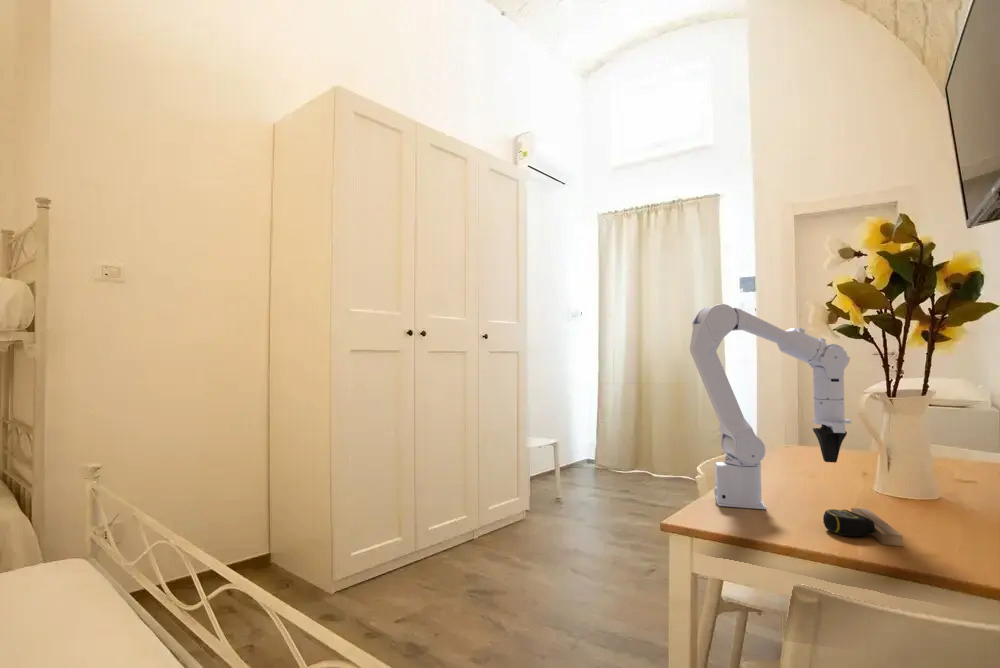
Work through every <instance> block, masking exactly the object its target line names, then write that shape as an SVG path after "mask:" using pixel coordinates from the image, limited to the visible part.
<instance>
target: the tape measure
mask: <svg viewBox="0 0 1000 668" xmlns="http://www.w3.org/2000/svg"><path fill="white" fill-rule="evenodd" d="M822 517H823V518H822V519H823V524H824V527H825V528H826V529H827V530H828V531H831V532H833V533H834V534H837V535H840V536H841V537H842V536H850V537H861V536H865V535H871V533H873V532H874V530H875V525H874V522H873V521H871V520H870V519H868V518H866V517H864V516H861V515H859V514H856V513H853V512H851V510H847V509H836V508H835V509H834V508H833V509H832V508H831V509H828V510H825V511H824V514H823V516H822Z"/></svg>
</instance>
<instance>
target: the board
mask: <svg viewBox="0 0 1000 668" xmlns="http://www.w3.org/2000/svg"><path fill="white" fill-rule="evenodd" d="M850 512H853V513H856V514H859V515H861V516H864V517H866V518H868V519H870V520H871V521H873V522H874V525H875V530H874V532H873V533H871V534H870V535H872V536H873V537H874V538H875V539H876V540H877V541H878V542H879V543H880V544H881V545H885V546H894V547H895V546H899V547H904V536H903V534H902V533H900V532H899V531H898V530H896V529H895V528H894V527H893V526H891V525H889V524H888V523H887V522H886V521H885V520H883V519H882V517H879V516H878V515H877V514H876V513H874V512H873V511H871V510H870V509H869V508H856V507H851V509H850Z"/></svg>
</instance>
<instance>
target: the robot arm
mask: <svg viewBox="0 0 1000 668" xmlns="http://www.w3.org/2000/svg"><path fill="white" fill-rule="evenodd" d="M691 324H692V332H691V339H690V345H689V352H690V355H691V357H692V359H693V362H694V365H695V366H696V369H697V372H698V373H699V377H700V378H701V381H702V384H703V385H704V388H705V390H706V393H707V395H708V398H709V399H710V402H711V405H712V407H713V409H714V412H715V415H716V417H717V419H718V421H719V430H718V431H719V432H720V434H721V435H720V436H721V439H720V440H721V441H720V442H721V444H720V445H721V448H722V450H723V452H724V453H725V454H726V455H725V458H724V461H716V462H715V463H714V489H713V492H714V498H715V501H716V503H717V505H718V506H719V507H730V508H741V509H754V510H767V505H766V504H764V501H763V500H762V498H763V497H762V462H761V461H762V460H764V457H765V455H766V446H765V444H764V442H763V440H762V439H760V438H759V437H758V436H757V434H755V431H754V430H753V427H752V426H751V425H750V423H749V422H748V421H747V420H746V418H745V417H744V415H743V412H742V410H741V408H740V404H739V402H738V399H737V397H736V396H735V393H734V390H733V388H732V385H731V383H730V381H729V379H728V378H729V377H727V374H726V372H725V369H724V366H723V364H722V362H721V360H720V357H719V356H718V355H719V354H718V352H717V351H718V348H719V347H720V345H721V342H723V340H724V339H725V337H726V336H727V335H728V334H729V333H731V332H733V331H743V332H745V333H746V332H747V333H749V334H751V335H755V336H757V337H759V338H762V339H764V340H767V341H770V342H773V343H775V344H776V345H777V347H778V349H779V351H780V352H782V353H784V354H786V355H788V356H790V357H792V358H795V359H798V360H800V361H802V362H804V363H806V364H808V366H809V367H810V368H812V376H813V377H812V379H813V380H812V386H813V387H812V388H813V418H812V422H813V424H815V425H820V427H813V428H812V432H814V434H815V436H816V438H817V439H816V440H818V443H819V447H820V452H821V455H822V459H823V462H825V463H835V464H836V463H837V461H838V459H839V453H840V450H841V446H842V444H843V441H844V440H845V438H846V436H847V434H848V433H847V431H846V424H852V420H851V419H849V418H848V419H847V418H845V384H844V383H845V380H844V379H845V377H844V376H845V369H846V367H848V366H849V362H850V360H851V359H850V358H851V357H850V356H848V354H847V350H845V349H844V347H843V346H841V345H839V344H835V343H834V344H833V343H830V344H829V343H828V344H827V342H826V339H825V338H823V337H819V338H817V337H815V336H813V335H811V334H808V333H805V332H806V329H804V328H802V327H797V328H794V327H793V328H789V329H786V330H785V329H782V328H780V327H779V326H777V325H774V324H772V323H770V322H767V321H766V320H764V319H761V318H759V317H757V316H756V315H753V314H751V313H749V312H747V311H745V310H743V309H741V308H737V307H732V306H731V305H729V304H726V303H719V304H715V305H713V306H709V307H704V308H702V309H701V310H699V311H698V313H697V314H696V316H695V318H694V319H693V320H692V323H691Z"/></svg>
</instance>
